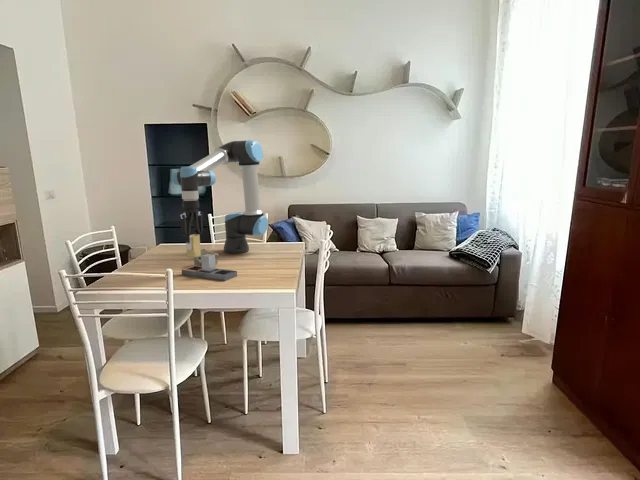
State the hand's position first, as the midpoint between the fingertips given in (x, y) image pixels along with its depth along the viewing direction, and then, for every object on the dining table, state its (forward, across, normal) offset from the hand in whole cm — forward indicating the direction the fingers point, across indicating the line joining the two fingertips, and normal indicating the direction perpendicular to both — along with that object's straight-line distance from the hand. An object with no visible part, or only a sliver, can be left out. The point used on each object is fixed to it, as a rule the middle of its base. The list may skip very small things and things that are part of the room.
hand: (193, 248), depth 202 cm
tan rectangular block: (+4, 0, 0) cm, 4 cm away
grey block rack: (+13, 0, +8) cm, 15 cm away
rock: (+13, -15, -6) cm, 20 cm away
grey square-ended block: (+13, 0, +8) cm, 15 cm away
